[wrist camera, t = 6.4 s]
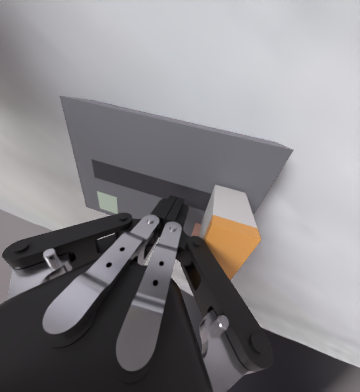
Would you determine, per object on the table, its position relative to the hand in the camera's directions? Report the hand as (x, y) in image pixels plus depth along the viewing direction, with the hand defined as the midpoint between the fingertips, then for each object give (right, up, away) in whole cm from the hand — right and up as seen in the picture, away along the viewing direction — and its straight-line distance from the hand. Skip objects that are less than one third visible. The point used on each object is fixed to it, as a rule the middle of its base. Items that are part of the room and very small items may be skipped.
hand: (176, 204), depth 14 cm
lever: (+5, 0, +1) cm, 5 cm away
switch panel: (-1, +4, +5) cm, 7 cm away
